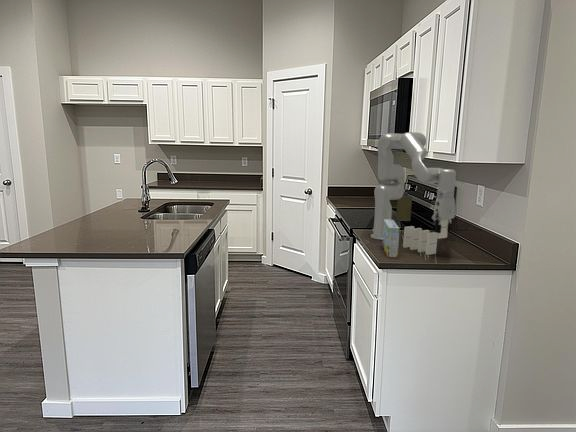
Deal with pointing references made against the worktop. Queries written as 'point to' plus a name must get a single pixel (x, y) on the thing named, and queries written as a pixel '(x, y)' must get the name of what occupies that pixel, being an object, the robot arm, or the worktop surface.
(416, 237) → the domino
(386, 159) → the robot arm
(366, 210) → the worktop surface
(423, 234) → the domino
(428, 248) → the domino
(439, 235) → the domino
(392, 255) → the snack box
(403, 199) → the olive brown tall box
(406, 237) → the domino
